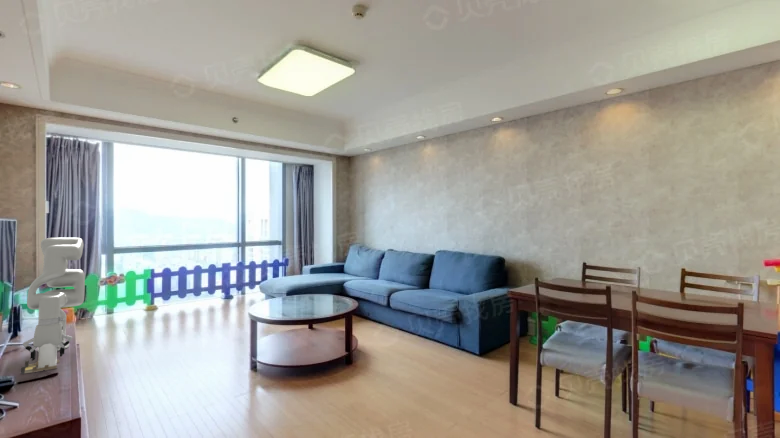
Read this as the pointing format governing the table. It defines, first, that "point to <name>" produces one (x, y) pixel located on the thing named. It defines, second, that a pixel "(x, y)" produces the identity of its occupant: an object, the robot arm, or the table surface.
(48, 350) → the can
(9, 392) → the table surface
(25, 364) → the comb channel
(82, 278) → the robot arm
